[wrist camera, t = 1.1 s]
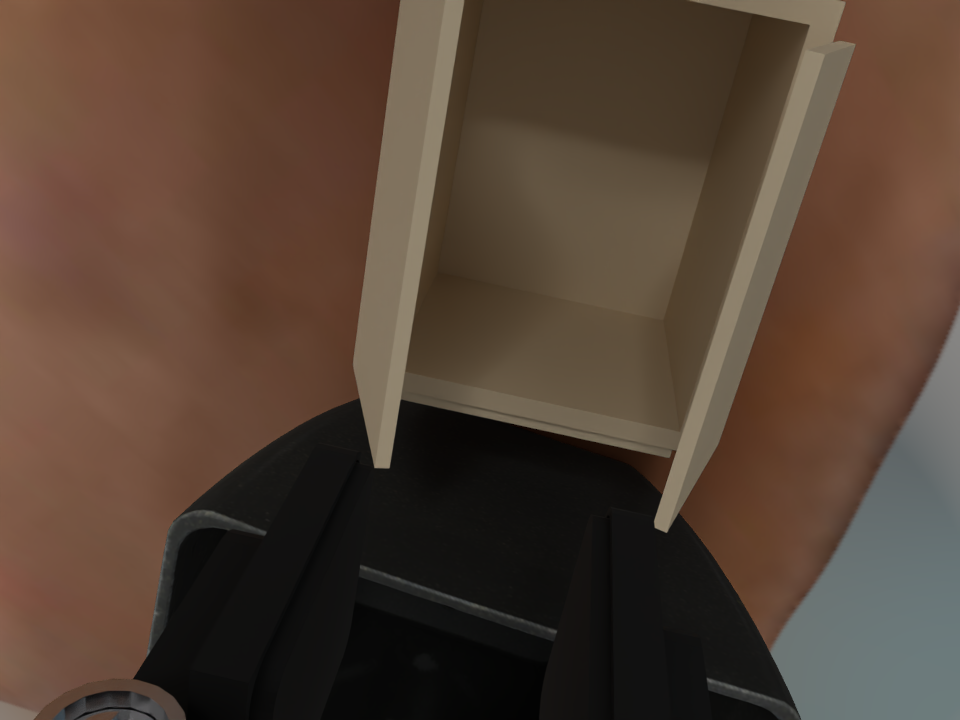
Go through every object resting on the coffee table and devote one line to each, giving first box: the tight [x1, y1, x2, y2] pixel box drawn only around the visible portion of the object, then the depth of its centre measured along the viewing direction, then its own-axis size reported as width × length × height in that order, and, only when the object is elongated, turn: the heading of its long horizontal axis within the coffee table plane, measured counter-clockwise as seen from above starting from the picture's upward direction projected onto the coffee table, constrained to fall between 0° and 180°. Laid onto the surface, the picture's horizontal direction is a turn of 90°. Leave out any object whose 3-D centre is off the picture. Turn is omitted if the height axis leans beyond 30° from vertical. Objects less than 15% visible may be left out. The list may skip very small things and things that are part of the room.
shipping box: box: [401, 0, 846, 458], centre depth 31 cm, size 15×11×10 cm
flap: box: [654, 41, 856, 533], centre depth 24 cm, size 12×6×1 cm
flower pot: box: [146, 398, 801, 720], centre depth 37 cm, size 19×19×17 cm
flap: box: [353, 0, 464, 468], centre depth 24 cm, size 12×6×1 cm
